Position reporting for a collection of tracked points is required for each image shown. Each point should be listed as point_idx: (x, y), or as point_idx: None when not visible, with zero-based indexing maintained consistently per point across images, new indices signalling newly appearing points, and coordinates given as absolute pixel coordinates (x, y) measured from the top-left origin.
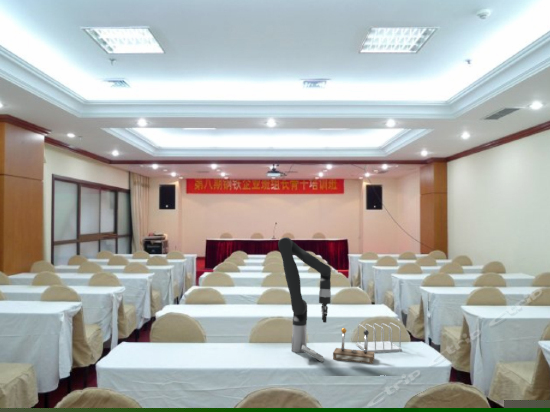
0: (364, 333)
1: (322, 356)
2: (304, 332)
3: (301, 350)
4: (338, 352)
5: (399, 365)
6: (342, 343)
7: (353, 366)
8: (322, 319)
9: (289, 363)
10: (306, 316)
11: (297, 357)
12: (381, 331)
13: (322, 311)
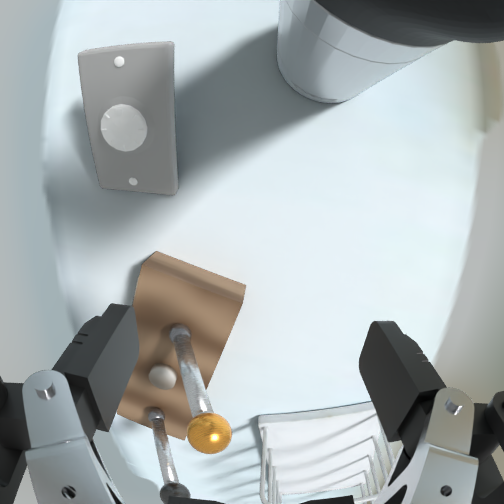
0: (164, 486)
1: (162, 190)
2: (300, 35)
3: (278, 60)
4: (148, 297)
5: (132, 447)
6: (178, 355)
7: (79, 320)
8: (375, 330)
9: (100, 16)
10: (478, 12)
11: (187, 39)
12: (371, 502)
13: (35, 475)
